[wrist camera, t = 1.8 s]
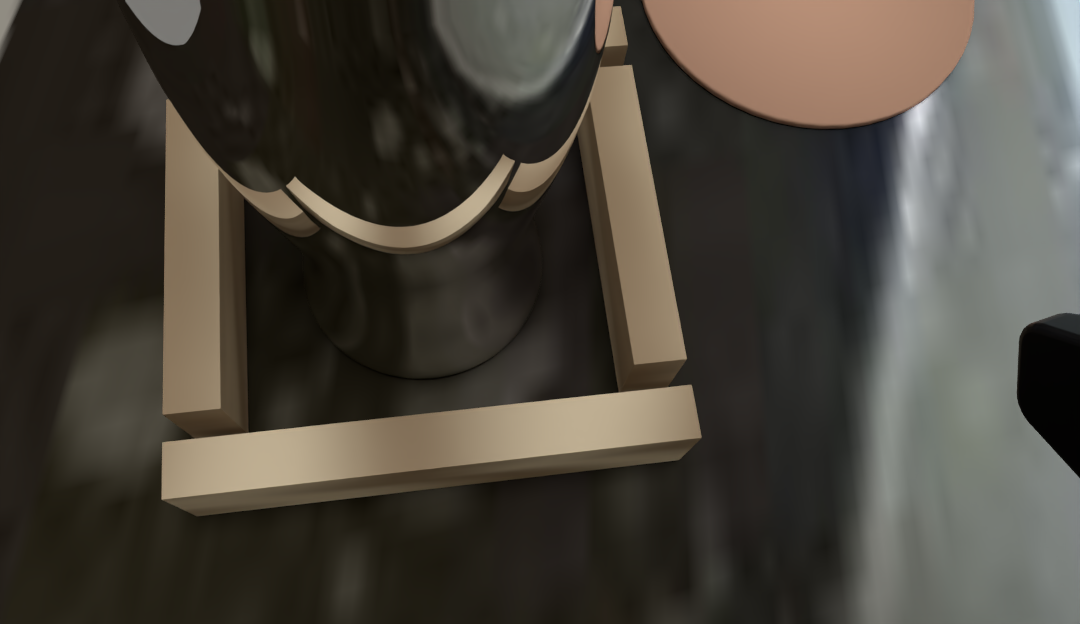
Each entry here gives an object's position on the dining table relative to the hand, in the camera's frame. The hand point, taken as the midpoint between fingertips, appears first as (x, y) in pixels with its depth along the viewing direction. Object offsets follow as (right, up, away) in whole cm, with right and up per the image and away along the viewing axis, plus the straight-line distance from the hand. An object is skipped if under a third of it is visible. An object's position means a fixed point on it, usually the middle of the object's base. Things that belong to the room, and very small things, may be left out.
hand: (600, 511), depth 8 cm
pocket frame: (-4, +3, +15) cm, 16 cm away
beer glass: (-4, +3, +16) cm, 16 cm away
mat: (+7, +12, +19) cm, 24 cm away
